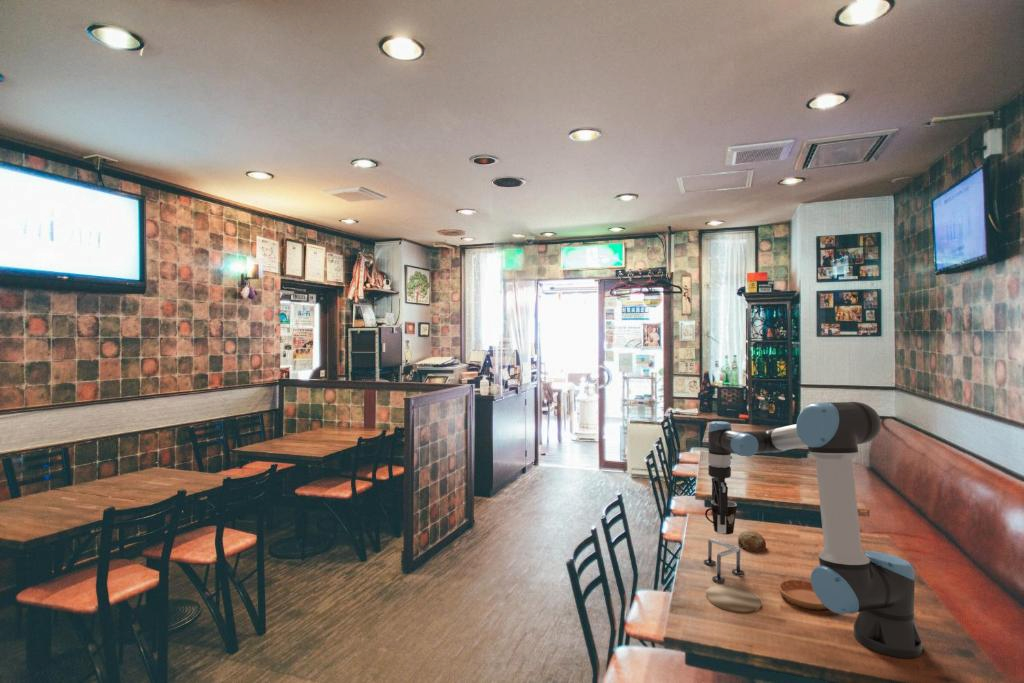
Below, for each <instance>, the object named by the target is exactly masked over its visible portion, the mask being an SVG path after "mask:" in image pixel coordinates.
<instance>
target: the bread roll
mask: <svg viewBox="0 0 1024 683" xmlns="http://www.w3.org/2000/svg"><path fill="white" fill-rule="evenodd" d="M737 543H738V547H739V546H740V547H739V548H741V547H742V548H741V549H743V548H745V549H744V550H746V549H747V551H748V550H751V551H750V552H754V551H760V550H763V551H764V549H765V550H766V547H767V542H766V540H765V538H764V536H762V534H761V533H758V532H756V531H753V530H745V531H742V532H741V533H740V534H739V535H738V539H737ZM760 552H761V551H760Z"/></svg>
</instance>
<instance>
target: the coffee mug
mask: <svg viewBox="0 0 1024 683" xmlns="http://www.w3.org/2000/svg"><path fill="white" fill-rule="evenodd" d="M710 506H711V507H709V508H707V509H706V510H705V513H704V514H705V515H704V516H705V518H706V519H707V520H708V521H709V522H710V523H712V525H713V524H714V527H713V531H714V532H715V533H717V534H719V533H718V515H716V513H718V504H716V503H715V501H714V500H713V501H712V500H711V501H710ZM737 506H738V505H737V503H736V502H734V501H731V500H728V515H726V534H725V535H733V534H734V531H735V530H734V529H735V522H736V514H737V508H738V507H737ZM709 511H711V514H712V520H711V519H710V517H709V516H708V512H709Z"/></svg>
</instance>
